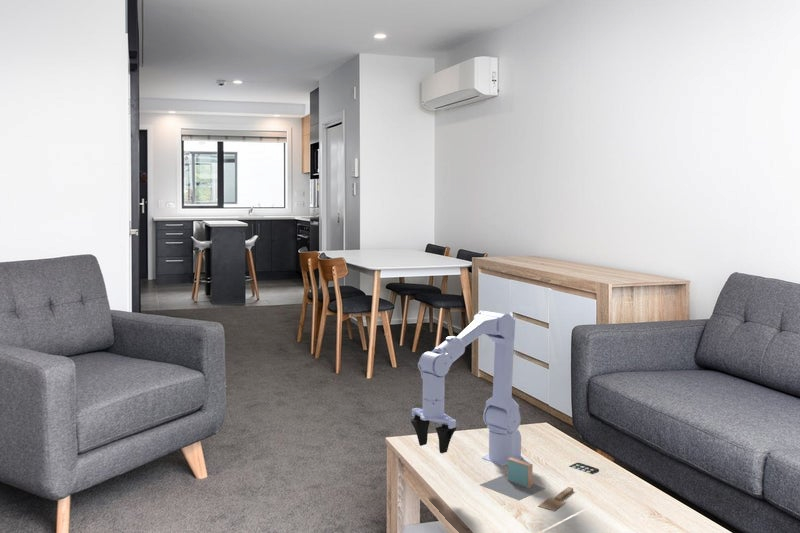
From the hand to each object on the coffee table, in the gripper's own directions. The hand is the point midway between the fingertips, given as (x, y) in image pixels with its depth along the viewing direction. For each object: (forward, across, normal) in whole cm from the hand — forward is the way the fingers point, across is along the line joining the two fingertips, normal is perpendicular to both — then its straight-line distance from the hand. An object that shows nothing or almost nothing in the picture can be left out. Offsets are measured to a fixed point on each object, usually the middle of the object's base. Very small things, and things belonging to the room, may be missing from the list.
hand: (433, 448), depth 187 cm
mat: (+10, +15, +14) cm, 23 cm away
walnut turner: (+10, +28, +16) cm, 34 cm away
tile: (+10, +15, +18) cm, 25 cm away
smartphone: (+11, +20, +35) cm, 42 cm away
